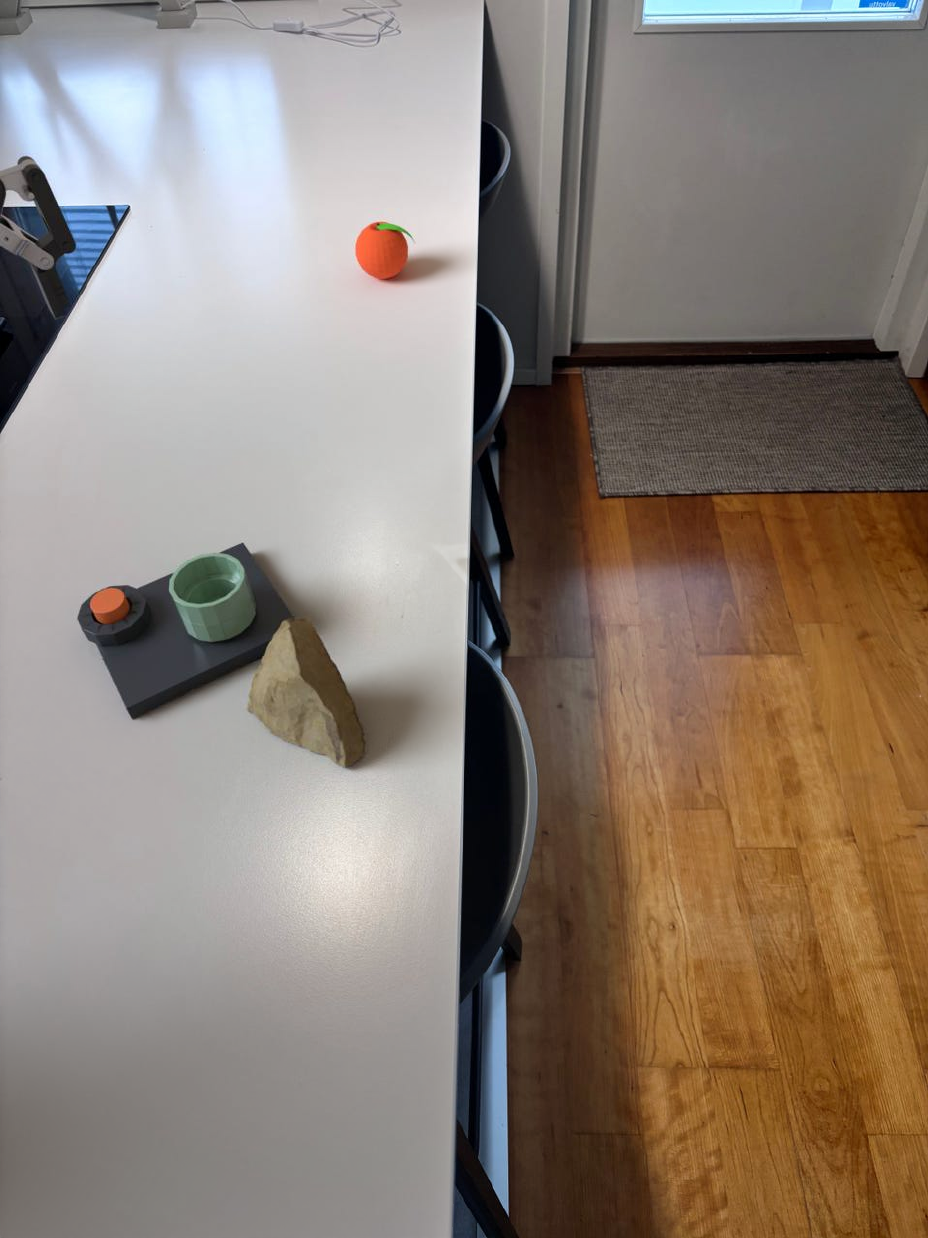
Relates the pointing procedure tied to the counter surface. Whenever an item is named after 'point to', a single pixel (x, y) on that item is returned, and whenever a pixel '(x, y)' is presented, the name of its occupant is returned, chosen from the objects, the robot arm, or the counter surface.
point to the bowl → (213, 597)
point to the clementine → (382, 249)
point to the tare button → (110, 606)
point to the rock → (306, 695)
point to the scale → (177, 640)
